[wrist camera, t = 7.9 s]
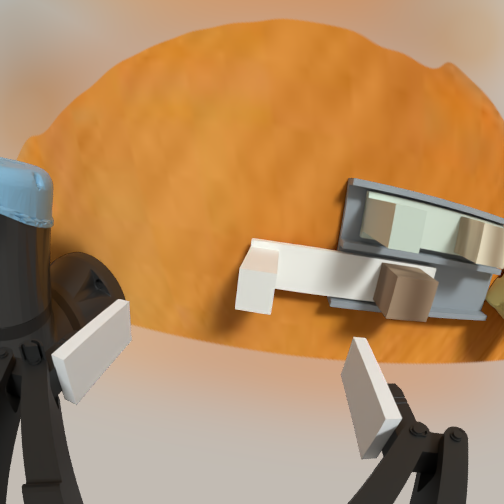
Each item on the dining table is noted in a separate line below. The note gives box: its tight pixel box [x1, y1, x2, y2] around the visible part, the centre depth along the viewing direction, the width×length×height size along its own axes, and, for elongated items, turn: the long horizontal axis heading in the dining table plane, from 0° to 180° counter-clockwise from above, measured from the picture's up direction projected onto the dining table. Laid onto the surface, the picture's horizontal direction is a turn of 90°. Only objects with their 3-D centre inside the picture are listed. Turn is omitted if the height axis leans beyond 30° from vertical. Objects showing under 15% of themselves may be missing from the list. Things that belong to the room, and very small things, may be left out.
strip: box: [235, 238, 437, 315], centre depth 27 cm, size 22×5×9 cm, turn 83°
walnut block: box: [373, 262, 439, 322], centre depth 28 cm, size 5×4×5 cm
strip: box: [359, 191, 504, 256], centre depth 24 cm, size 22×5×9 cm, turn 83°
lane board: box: [327, 178, 504, 321], centre depth 30 cm, size 24×14×3 cm, turn 83°
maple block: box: [454, 216, 504, 269], centre depth 25 cm, size 5×4×5 cm
